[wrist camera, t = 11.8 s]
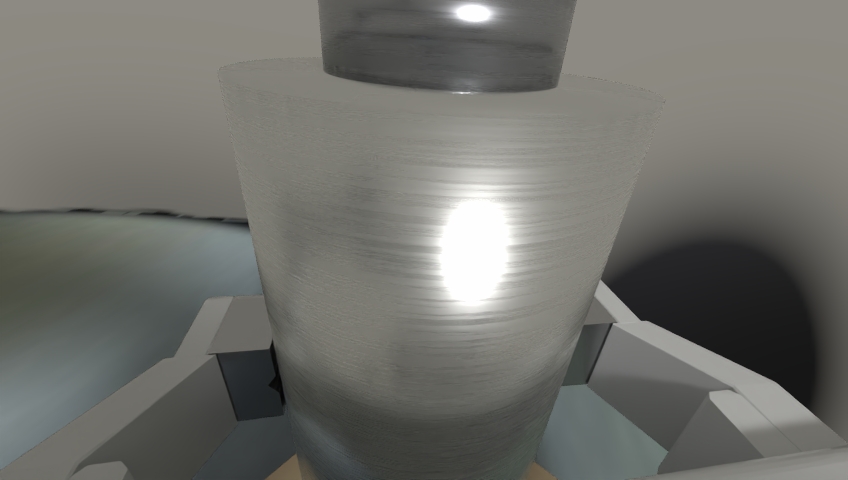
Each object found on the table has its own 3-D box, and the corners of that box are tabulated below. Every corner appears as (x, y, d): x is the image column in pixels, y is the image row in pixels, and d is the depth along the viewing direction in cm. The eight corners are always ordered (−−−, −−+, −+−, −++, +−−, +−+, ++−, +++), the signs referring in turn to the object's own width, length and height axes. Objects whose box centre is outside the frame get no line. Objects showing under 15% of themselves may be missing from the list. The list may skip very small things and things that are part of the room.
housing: (248, 592, 10) (-72, -71, 3) (369, 399, 15) (357, 2, 8) (484, 750, 8) (1221, -131, 1) (527, 464, 13) (686, 16, 6)
